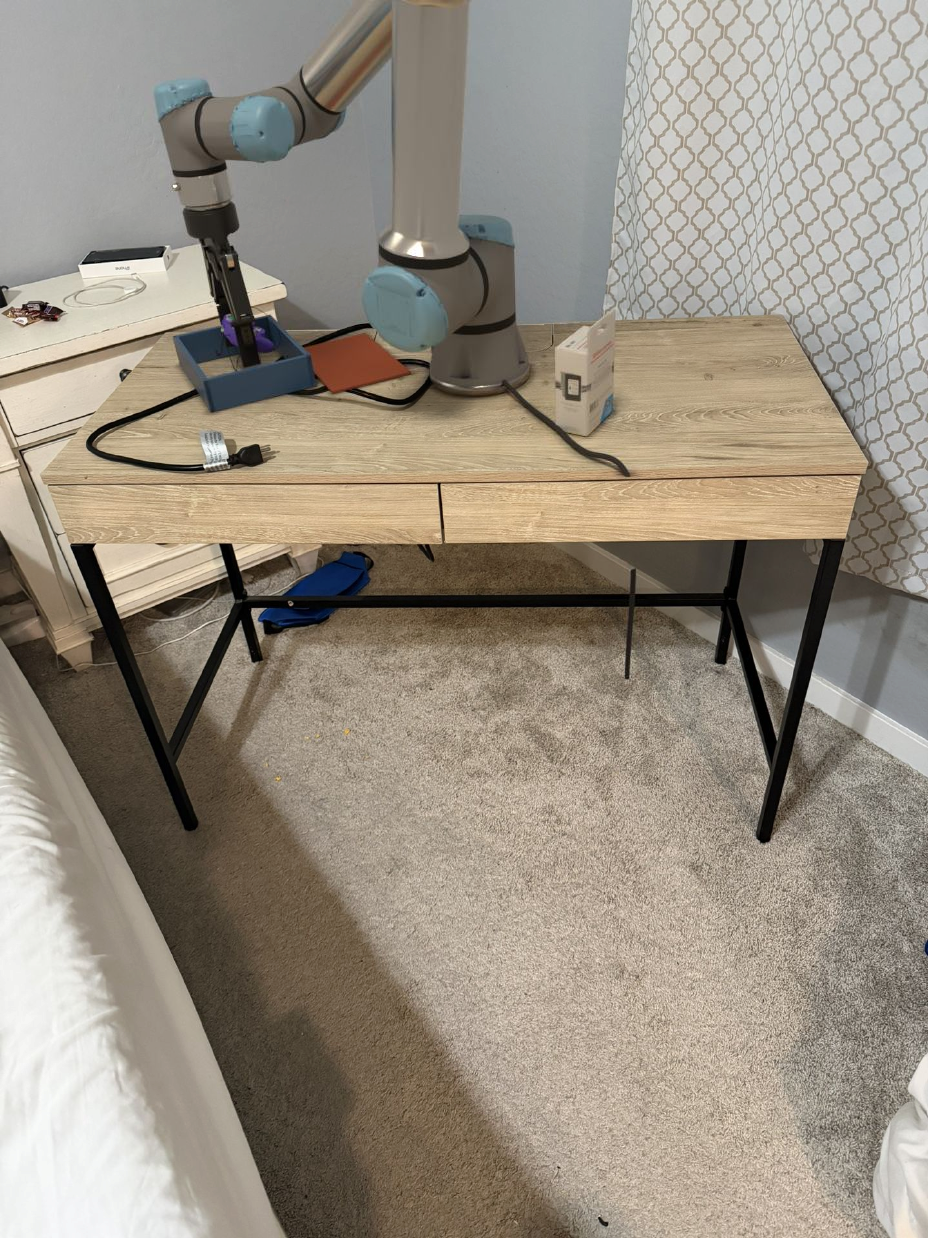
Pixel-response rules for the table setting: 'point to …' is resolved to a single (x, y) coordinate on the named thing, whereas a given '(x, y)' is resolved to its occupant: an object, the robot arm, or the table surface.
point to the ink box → (585, 377)
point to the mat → (353, 363)
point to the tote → (248, 381)
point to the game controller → (262, 342)
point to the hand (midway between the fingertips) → (243, 354)
